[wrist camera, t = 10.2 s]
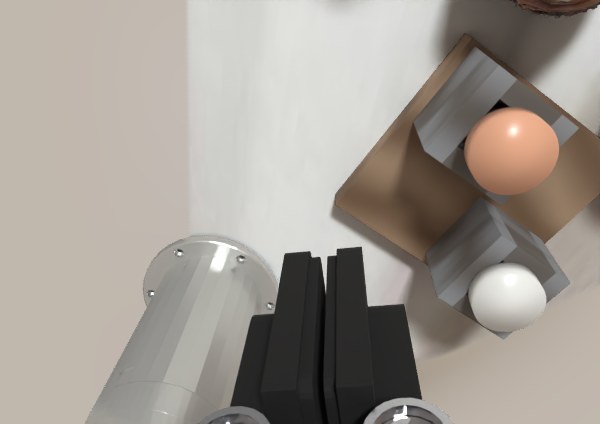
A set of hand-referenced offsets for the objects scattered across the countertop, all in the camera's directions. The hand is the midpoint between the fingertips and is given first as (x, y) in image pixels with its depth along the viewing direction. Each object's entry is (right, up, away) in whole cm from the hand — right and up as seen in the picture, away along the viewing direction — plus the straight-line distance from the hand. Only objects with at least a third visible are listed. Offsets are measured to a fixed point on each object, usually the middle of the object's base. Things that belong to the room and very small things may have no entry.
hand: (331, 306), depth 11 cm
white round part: (+14, -1, +29) cm, 32 cm away
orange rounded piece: (+12, +8, +23) cm, 27 cm away
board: (+13, +5, +30) cm, 33 cm away
